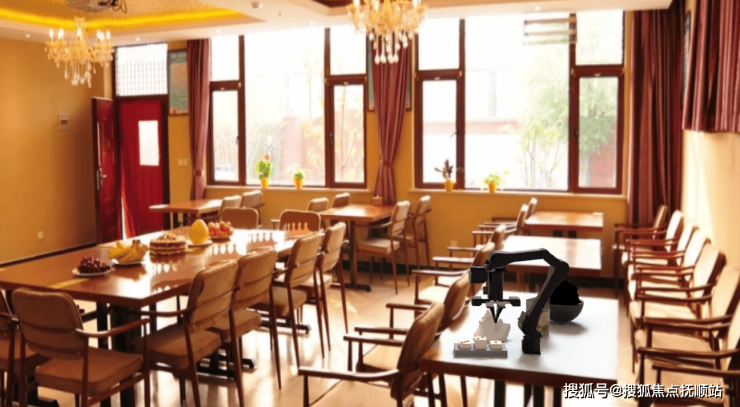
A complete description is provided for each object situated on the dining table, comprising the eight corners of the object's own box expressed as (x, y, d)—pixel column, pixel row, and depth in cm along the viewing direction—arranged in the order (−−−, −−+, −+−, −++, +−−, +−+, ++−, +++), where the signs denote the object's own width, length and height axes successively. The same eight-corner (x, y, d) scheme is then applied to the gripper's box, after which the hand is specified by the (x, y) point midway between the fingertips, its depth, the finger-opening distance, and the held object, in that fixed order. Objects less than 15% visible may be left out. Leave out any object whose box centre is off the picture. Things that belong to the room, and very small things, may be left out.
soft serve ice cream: (509, 348, 272) (505, 317, 268) (472, 348, 277) (468, 318, 272) (511, 332, 283) (507, 302, 279) (475, 333, 288) (472, 303, 284)
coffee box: (538, 339, 278) (538, 302, 277) (524, 336, 283) (525, 299, 281) (549, 335, 285) (550, 298, 283) (536, 332, 289) (537, 295, 288)
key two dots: (485, 346, 264) (485, 336, 264) (486, 349, 260) (486, 339, 259) (474, 346, 265) (474, 335, 264) (475, 349, 260) (475, 339, 260)
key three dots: (470, 350, 265) (470, 339, 264) (470, 353, 260) (470, 343, 260) (458, 350, 265) (458, 339, 265) (459, 353, 261) (459, 343, 260)
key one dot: (500, 350, 264) (500, 340, 264) (502, 354, 260) (502, 343, 259) (489, 350, 264) (489, 340, 264) (490, 354, 260) (490, 343, 259)
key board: (504, 349, 266) (504, 343, 266) (507, 356, 257) (507, 350, 257) (454, 349, 268) (454, 343, 267) (455, 356, 259) (455, 350, 258)
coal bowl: (590, 321, 305) (591, 280, 303) (571, 331, 290) (571, 288, 289) (550, 314, 318) (550, 275, 317) (529, 323, 304) (530, 282, 302)
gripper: (517, 279, 267) (516, 317, 268) (469, 279, 268) (469, 317, 270) (521, 285, 256) (520, 325, 257) (472, 285, 257) (471, 324, 259)
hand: (495, 322), depth 261 cm, fingers closed
